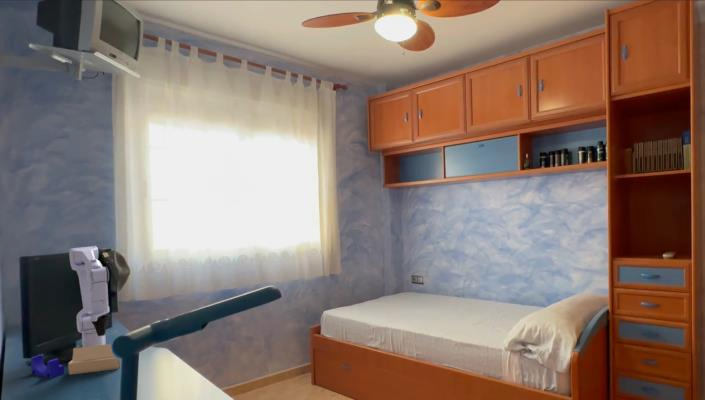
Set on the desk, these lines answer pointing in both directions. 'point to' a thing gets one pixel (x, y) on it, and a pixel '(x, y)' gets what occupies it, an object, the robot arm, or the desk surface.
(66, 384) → the desk surface
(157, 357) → the desk surface
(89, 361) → the carton
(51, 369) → the cable clip
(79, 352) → the carton flap
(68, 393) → the desk surface
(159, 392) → the desk surface
